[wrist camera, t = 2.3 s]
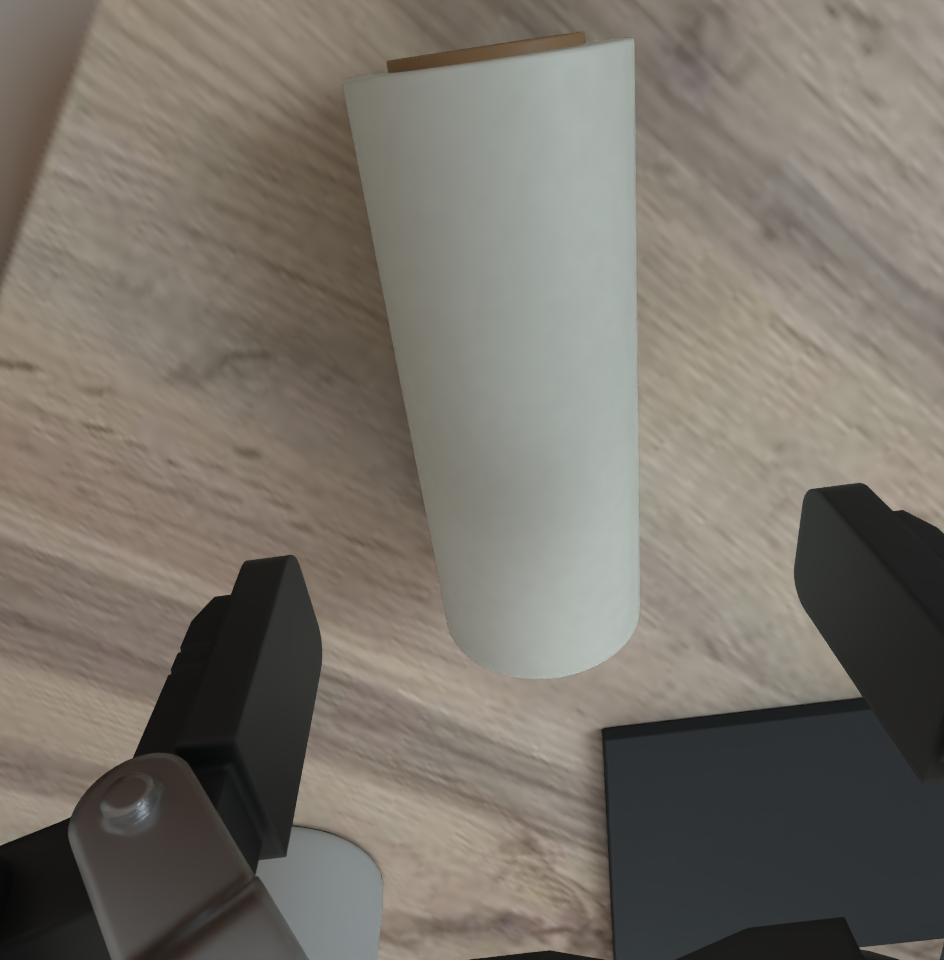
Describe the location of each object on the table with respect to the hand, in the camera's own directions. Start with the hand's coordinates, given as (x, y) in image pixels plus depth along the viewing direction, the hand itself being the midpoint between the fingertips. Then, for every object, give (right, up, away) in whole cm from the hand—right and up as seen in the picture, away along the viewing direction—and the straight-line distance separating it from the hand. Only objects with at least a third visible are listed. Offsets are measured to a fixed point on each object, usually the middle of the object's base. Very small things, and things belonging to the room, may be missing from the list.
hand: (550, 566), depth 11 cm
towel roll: (0, +5, +8) cm, 10 cm away
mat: (+15, -15, +21) cm, 29 cm away
